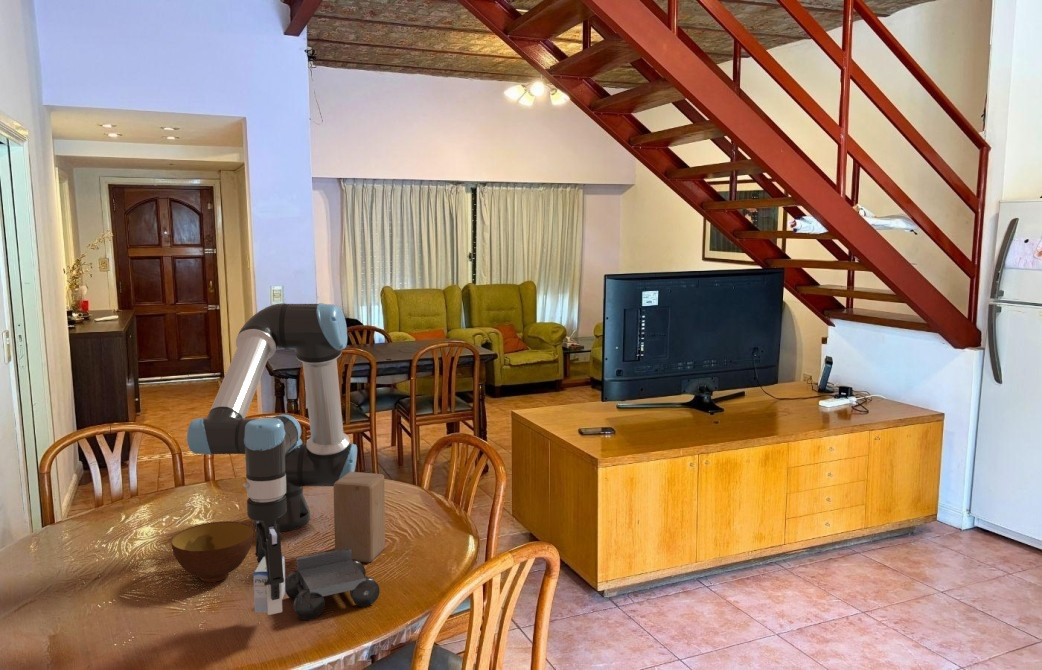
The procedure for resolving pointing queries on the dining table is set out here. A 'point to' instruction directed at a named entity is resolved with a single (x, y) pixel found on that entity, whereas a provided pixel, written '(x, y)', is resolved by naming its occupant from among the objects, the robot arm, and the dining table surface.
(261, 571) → the medicine box
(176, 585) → the dining table surface
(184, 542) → the bowl
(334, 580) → the trolley
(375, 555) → the wooden block
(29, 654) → the dining table surface
